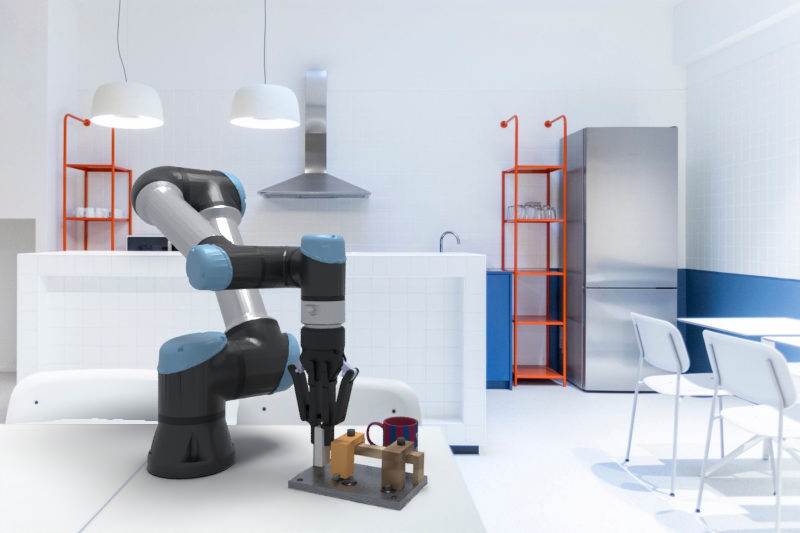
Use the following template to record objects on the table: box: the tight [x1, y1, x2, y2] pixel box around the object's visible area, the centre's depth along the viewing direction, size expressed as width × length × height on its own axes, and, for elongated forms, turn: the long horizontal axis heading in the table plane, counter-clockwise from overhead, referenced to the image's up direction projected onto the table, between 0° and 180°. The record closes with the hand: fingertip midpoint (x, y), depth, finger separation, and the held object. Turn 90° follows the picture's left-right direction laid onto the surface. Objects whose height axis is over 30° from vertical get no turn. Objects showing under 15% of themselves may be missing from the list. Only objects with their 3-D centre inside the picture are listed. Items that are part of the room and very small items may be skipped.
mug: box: [365, 416, 419, 452], centre depth 116 cm, size 7×10×7 cm
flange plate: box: [287, 458, 428, 511], centre depth 101 cm, size 20×12×1 cm, turn 67°
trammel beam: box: [312, 437, 425, 491], centre depth 102 cm, size 20×8×7 cm, turn 67°
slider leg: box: [330, 428, 366, 480], centre depth 103 cm, size 3×8×7 cm, turn 157°
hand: (322, 463), depth 103 cm, fingers closed
